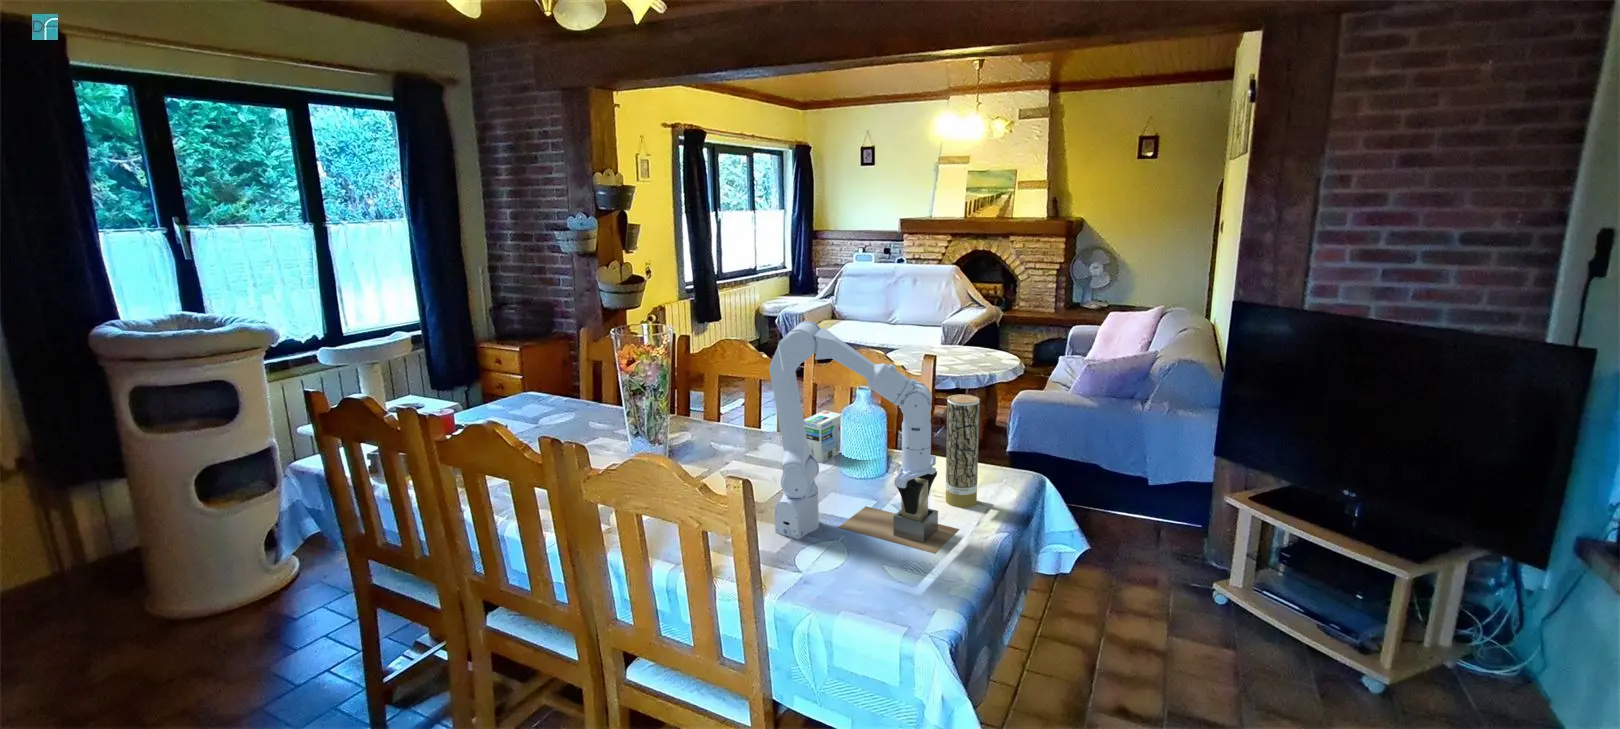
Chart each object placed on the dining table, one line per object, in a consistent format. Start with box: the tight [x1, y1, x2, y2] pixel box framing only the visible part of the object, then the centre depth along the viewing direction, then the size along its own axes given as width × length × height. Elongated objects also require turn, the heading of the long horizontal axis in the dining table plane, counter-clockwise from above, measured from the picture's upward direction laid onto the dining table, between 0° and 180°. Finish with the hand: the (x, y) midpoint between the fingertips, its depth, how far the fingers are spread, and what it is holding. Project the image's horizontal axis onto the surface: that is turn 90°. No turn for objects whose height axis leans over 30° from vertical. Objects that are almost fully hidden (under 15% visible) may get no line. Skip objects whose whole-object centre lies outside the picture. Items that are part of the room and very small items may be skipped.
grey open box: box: [893, 507, 939, 543], centre depth 151 cm, size 7×7×4 cm
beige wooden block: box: [900, 478, 929, 521], centre depth 150 cm, size 4×4×8 cm
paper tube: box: [945, 394, 981, 509], centre depth 163 cm, size 7×7×25 cm
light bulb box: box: [803, 410, 842, 464], centre depth 199 cm, size 11×7×11 cm, turn 143°
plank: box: [837, 505, 960, 554], centre depth 154 cm, size 12×22×1 cm, turn 56°
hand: (915, 508), depth 151 cm, fingers closed on beige wooden block, 4 cm apart
